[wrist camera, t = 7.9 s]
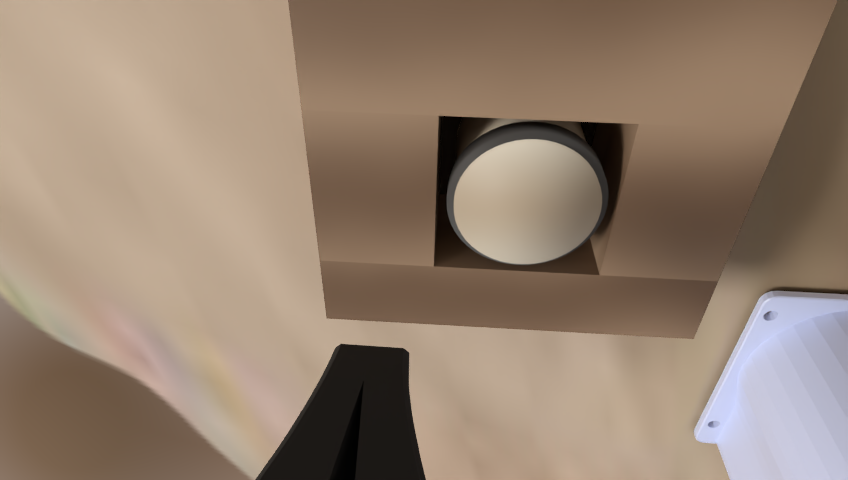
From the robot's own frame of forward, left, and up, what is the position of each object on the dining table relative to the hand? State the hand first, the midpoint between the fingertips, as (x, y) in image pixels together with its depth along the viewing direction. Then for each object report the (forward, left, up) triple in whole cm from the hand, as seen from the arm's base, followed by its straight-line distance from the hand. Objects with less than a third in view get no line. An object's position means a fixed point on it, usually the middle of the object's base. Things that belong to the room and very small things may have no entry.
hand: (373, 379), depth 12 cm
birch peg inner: (0, -3, -10) cm, 11 cm away
